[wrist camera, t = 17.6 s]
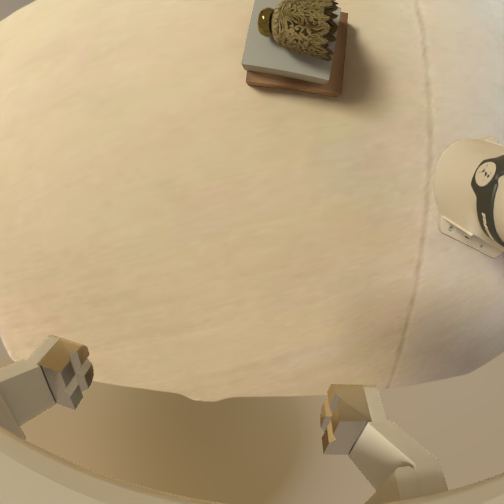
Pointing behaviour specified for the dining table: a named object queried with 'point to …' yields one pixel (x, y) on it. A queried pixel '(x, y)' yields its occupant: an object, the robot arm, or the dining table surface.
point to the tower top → (282, 53)
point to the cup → (301, 26)
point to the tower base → (329, 88)
